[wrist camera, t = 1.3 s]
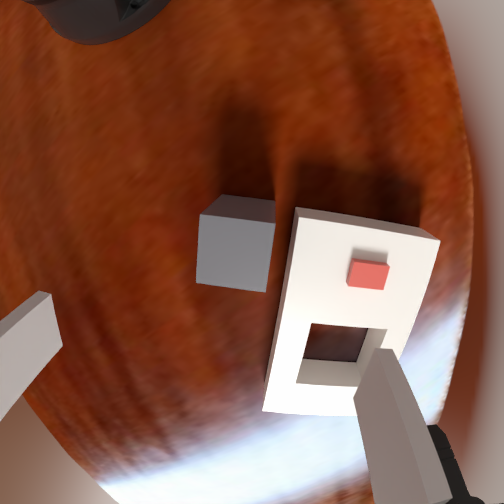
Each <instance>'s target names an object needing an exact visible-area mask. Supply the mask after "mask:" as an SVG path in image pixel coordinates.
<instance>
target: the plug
mask: <svg viewBox="0 0 504 504" xmlns="http://www.w3.org/2000/svg"><path fill="white" fill-rule="evenodd" d="M274 230H275V201H272V200H265V199H257V198H249V197H241V196H232V195H223V194H222V195H221V196H220V197H219V198H218V199H216V200H215V201H214V202H213V203H212V204H211V205H210V206H209V207H208V208H206V209H205V210H204V211H203V212H202V213H201V214H200V222H199V237H198V254H197V273H196V283H202V284H209V285H216V286H223V287H230V288H237V289H244V290H251V291H259V292H266V285H267V279H268V272H269V265H270V258H271V251H272V244H273V237H274Z"/></svg>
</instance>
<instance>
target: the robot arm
mask: <svg viewBox="0 0 504 504" xmlns="http://www.w3.org/2000/svg"><path fill="white" fill-rule="evenodd" d="M22 1H25V2H27V3H30V4H32V5H34V6H36V8H37V9H38V10H39V11H40V12H41V14H42V15H43V16H44V17H45V18H46V19H47V20H48V21H49V23H50V25H51V27H52V28H53V29H54V31H55V32H56V33H58V34H59V35H60V36H62V37H64V38H66V39H69V40H71V41H74V42H76V43H79V44H84V45H96V44H102V43H107V42H110V41H113V40H116V39H119V38H121V37H123V36H125V35H127V34H129V33H131V32H133V31H135V30H136V29H138V28H140V27H141V26H143V25H144V24H145V23H147V22H148V21H149V20H151V19H152V18H153V17H154V16H156V15H157V14H158V13H159V12H160V11H161V10H162V9H163V8H164V7H165V6H166V5H167V4H168V3H169V2H170V0H22ZM62 346H63V345H62V341H61V337H60V333H59V329H58V325H57V320H56V316H55V311H54V307H53V302H52V297H51V294H49V293H45V292H42V291H38V292H36V293H35V294H34V295H32V296H31V297H30V298H29V299H27V300H26V301H25V302H24V303H22V304H21V305H20V306H19V307H17V308H16V309H15V310H14V311H12V312H11V313H10V314H9V315H8V316H6V317H5V318H4V319H3V320H2V321H0V421H1V420H2V418H3V417H4V416H5V414H6V413H7V412H8V411H9V409H10V408H11V406H12V405H13V404H14V403H15V402H16V400H17V399H18V398H19V397H20V395H21V394H22V393H23V392H24V390H25V389H26V388H27V387H28V386H29V384H30V383H31V382H32V381H33V380H34V378H35V377H36V376H37V375H38V374H39V372H40V371H41V370H42V369H43V368H44V367H45V365H46V364H47V363H48V362H49V361H50V360H51V358H52V357H53V356H54V355H55V354H56V353H57V352H58V350H59V349H60V348H61V347H62ZM353 400H354V405H355V409H356V413H357V417H358V422H359V426H360V431H361V435H362V440H363V445H364V449H365V454H366V459H367V464H368V469H369V474H370V479H371V485H372V490H373V496H374V502H375V504H485V503H484V502H483V501H482V500H481V499H479V498H477V497H472V496H470V494H469V492H468V490H467V487H466V485H465V482H464V479H463V477H462V474H461V471H460V469H459V466H458V463H457V461H456V459H454V453H453V451H452V449H450V447H451V446H450V444H449V441H448V439H447V437H446V434H445V433H444V432H443V431H442V430H441V429H440V428H439V427H438V426H437V425H436V424H435V425H427V426H426V423H425V421H424V418H423V416H422V413H421V411H420V409H419V406H418V404H417V402H416V399H415V397H414V395H413V392H412V390H411V388H410V386H409V383H408V381H407V379H406V377H405V375H404V372H403V370H402V368H401V366H400V364H399V362H398V359H397V357H396V355H395V353H394V351H393V349H385V348H375V349H374V352H373V354H372V356H371V359H370V361H369V364H368V366H367V368H366V370H365V373H364V375H363V377H362V379H361V382H360V384H359V386H358V388H357V390H356V393H355V395H354V397H353ZM501 504H504V503H501Z"/></svg>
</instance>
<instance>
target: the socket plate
mask: <svg viewBox="0 0 504 504" xmlns="http://www.w3.org/2000/svg"><path fill="white" fill-rule="evenodd" d="M439 244H440V240H438V239H437V238H435V237H434V236H432V235H431V234H429V233H428V232H426V231H424V230H423V229H421V228H418V227H413V226H408V225H402V224H397V223H392V222H386V221H381V220H375V219H369V218H364V217H358V216H352V215H346V214H340V213H333V212H327V211H321V210H314V209H307V208H300V207H295V213H294V220H293V226H292V233H291V239H290V245H289V252H288V258H287V264H286V270H285V276H284V282H283V287H282V293H281V299H280V304H279V310H278V316H277V321H276V326H275V332H274V337H273V342H272V348H271V353H270V358H269V363H268V368H267V373H266V378H265V383H264V395H263V410H262V411H270V412H280V413H293V414H309V415H335V416H357V413H356V409H355V405H354V400H353V397H354V395H355V393H356V390H357V388H358V386H359V384H360V382H361V379H362V377H363V375H364V373H365V370H366V368H367V366H368V364H369V361H370V359H371V356H372V354H373V352H374V349H375V348H385V349H393V351H394V353H395V355H396V357H397V359H398V360H399V358H400V356H401V353H402V351H403V349H404V346H405V344H406V342H407V339H408V337H409V334H410V332H411V329H412V327H413V324H414V322H415V319H416V316H417V314H418V311H419V308H420V305H421V303H422V300H423V297H424V294H425V291H426V288H427V285H428V282H429V279H430V276H431V272H432V269H433V266H434V262H435V259H436V255H437V252H438V248H439ZM311 323H318V324H328V325H339V326H350V327H363V328H368V331H367V334H366V337H365V340H364V343H363V345H362V348H361V351H360V354H359V356H358V359H357V362H338V361H324V360H311V359H302V357H303V353H304V350H305V346H306V342H307V338H308V334H309V330H310V326H311Z"/></svg>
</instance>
